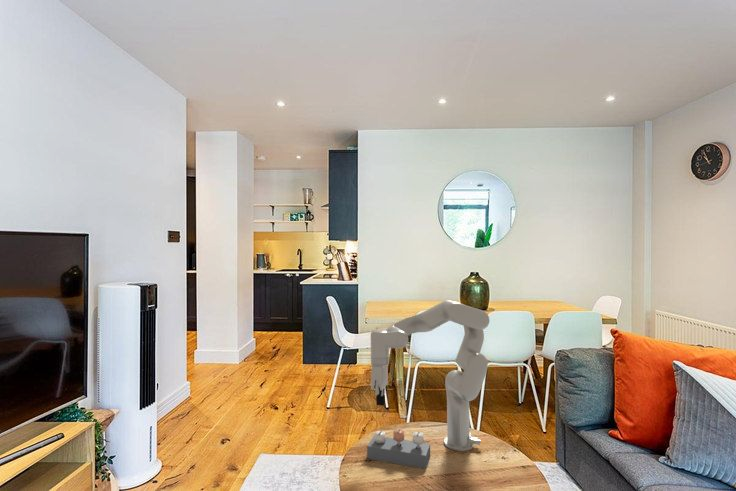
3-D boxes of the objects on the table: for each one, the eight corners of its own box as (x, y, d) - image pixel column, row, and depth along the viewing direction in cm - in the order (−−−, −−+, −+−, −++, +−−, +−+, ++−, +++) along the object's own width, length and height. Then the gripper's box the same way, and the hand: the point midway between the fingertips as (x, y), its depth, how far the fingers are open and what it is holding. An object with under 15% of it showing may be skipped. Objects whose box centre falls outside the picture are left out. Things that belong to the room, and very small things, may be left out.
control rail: (430, 456, 158) (430, 443, 158) (426, 468, 148) (425, 455, 148) (374, 447, 165) (374, 435, 165) (367, 458, 156) (367, 446, 156)
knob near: (424, 448, 156) (424, 432, 156) (422, 453, 152) (422, 436, 152) (413, 446, 157) (413, 430, 157) (411, 451, 153) (411, 435, 153)
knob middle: (405, 445, 158) (405, 429, 158) (402, 450, 154) (402, 433, 154) (394, 443, 160) (394, 427, 160) (392, 448, 155) (392, 432, 156)
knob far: (386, 446, 161) (386, 431, 161) (383, 451, 157) (383, 435, 157) (376, 445, 162) (376, 429, 162) (373, 450, 158) (373, 434, 158)
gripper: (376, 355, 169) (377, 397, 168) (365, 364, 155) (366, 410, 154) (393, 356, 166) (394, 399, 166) (383, 365, 152) (384, 412, 152)
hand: (380, 404), depth 160 cm, fingers closed
